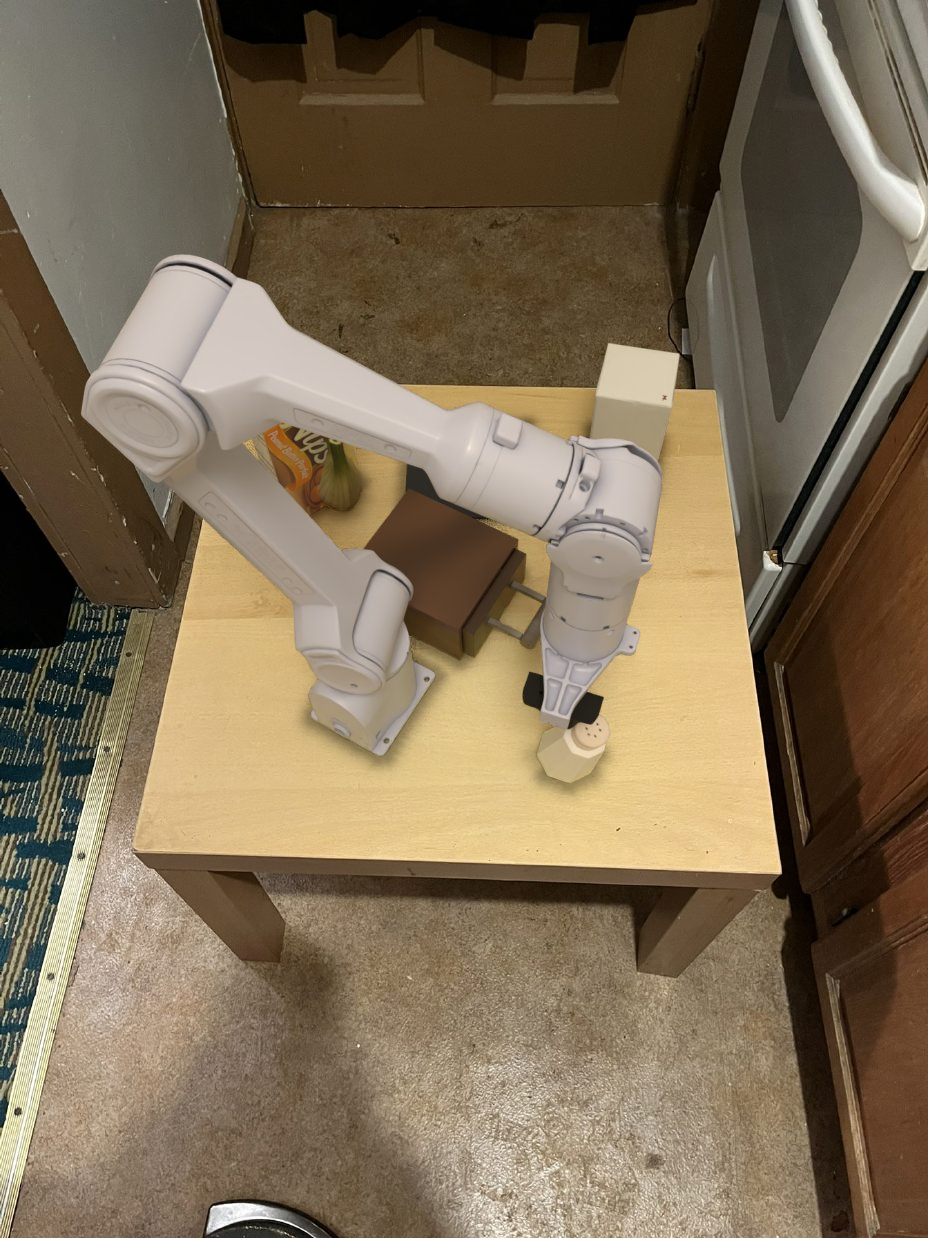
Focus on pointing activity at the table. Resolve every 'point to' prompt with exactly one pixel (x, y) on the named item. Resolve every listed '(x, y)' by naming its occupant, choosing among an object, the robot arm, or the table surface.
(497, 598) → the drawer
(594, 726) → the pepper shaker
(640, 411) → the white packaging box
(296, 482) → the candy box
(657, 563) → the table surface
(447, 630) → the cabinet
